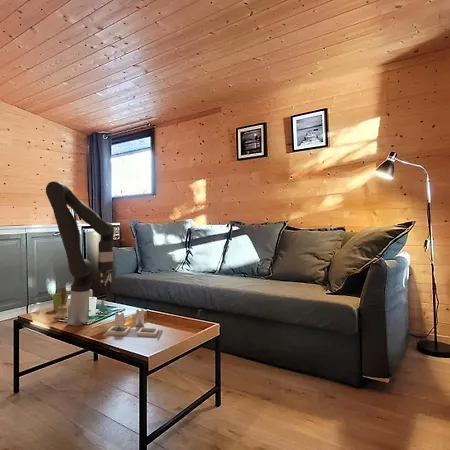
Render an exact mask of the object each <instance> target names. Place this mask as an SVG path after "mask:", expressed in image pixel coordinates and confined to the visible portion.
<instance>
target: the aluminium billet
mask: <svg viewBox="0 0 450 450" xmlns="http://www.w3.org/2000/svg"><path fill="white" fill-rule="evenodd" d="M135 311H136V312H135V327H136V328H137V327H141V328H143V327H144V324H145V323H144V321H145V309H144V308H143V309H142V308H137V309H136V310H135Z"/></svg>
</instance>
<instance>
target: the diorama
mask: <svg viewBox="0 0 450 450" xmlns="http://www.w3.org/2000/svg"><path fill="white" fill-rule="evenodd" d="M99 311H101V312H105V311H109V308H108V307H107V305H105V301H104V300H101V304H100V305H99V308H98V312H99Z"/></svg>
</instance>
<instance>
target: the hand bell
mask: <svg viewBox="0 0 450 450" xmlns="http://www.w3.org/2000/svg"><path fill="white" fill-rule="evenodd" d="M60 294H61V306H59V307H58V310H57V311H56V313H55V315H53V318H54V319H64V318H63V317H67V316H68V306H67V305H66V306H64V300H65V296H66V294H67V289H66V287H62V288H61V292H60Z"/></svg>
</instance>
